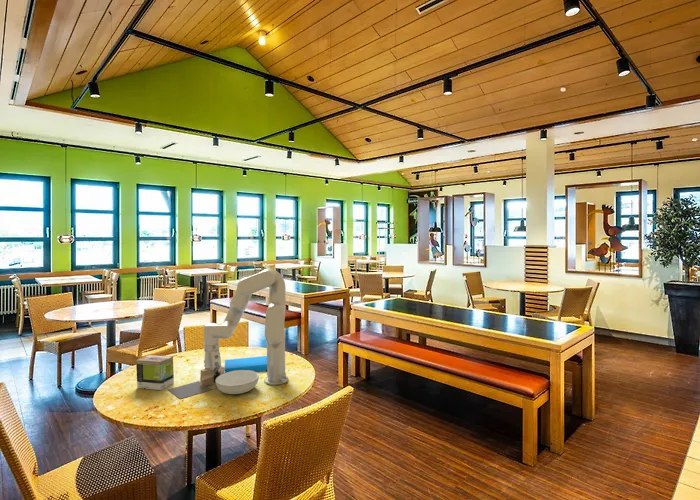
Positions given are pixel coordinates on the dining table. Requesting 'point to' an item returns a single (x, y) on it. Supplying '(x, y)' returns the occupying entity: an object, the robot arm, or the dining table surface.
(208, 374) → the brown wooden block
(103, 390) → the dining table surface
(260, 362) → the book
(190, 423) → the dining table surface
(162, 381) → the tea box
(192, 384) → the mat
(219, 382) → the serving bowl
